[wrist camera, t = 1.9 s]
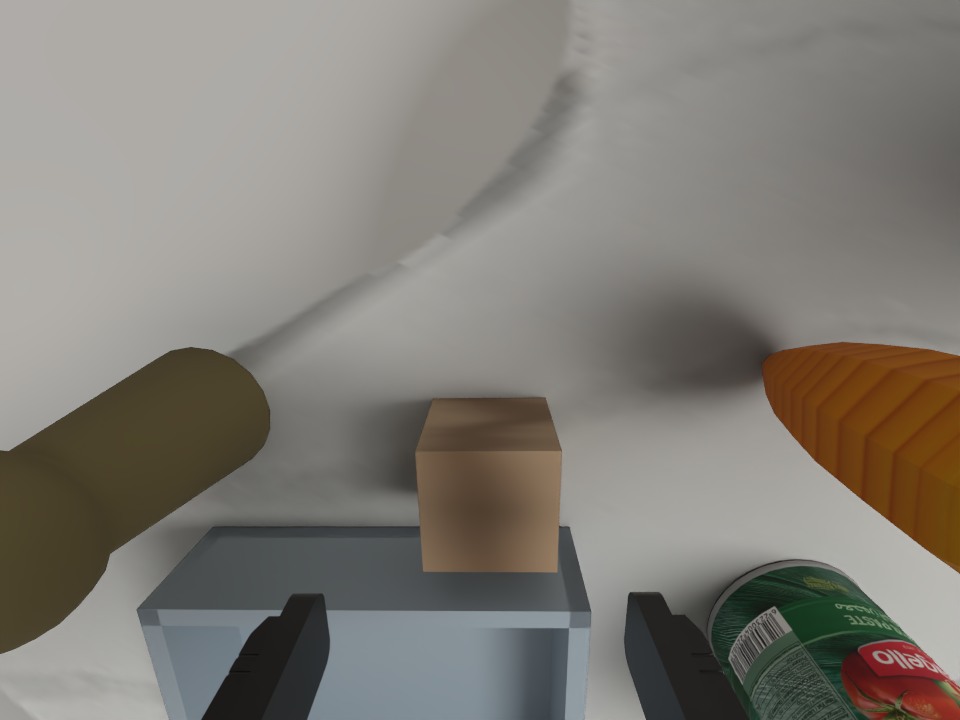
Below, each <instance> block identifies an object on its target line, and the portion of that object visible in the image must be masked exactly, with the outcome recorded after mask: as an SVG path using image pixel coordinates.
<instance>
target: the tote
mask: <svg viewBox="0 0 960 720" xmlns="http://www.w3.org/2000/svg"><path fill="white" fill-rule="evenodd" d="M294 593H322V594H323V595H324V598H325V605H326V612H327V620H328V627H329V634H330V651H329V657H328V662H327V665H326V668H325V671H324V674H323V677H322V680H321V682H320V685H319V688H318V691H317V694H316V696H315V699H314V702H313V705H312V707H311V710H310V713H309V716H308V719H307V720H584V718H585V702H586V686H587V671H588V655H589V639H590V624H591V609H590V605H589V601H588V597H587V593H586V589H585V586H584V582H583V578H582V574H581V570H580V566H579V562H578V558H577V554H576V551H575V547H574V543H573V539H572V535H571V531H570V527H559V538H558V565H557V572H423V563H422V547H421V532H420V527H212V528H211V530H210V531H209V532H208V533H207V534H206V535H205V536H204V537H203V538H202V539H201V540H200V541H199V543H198V544H197V545H196V546H195V547H194V548H193V549H192V550H191V551H190V552H189V553H188V554H187V555H186V557H185V558H184V559H183V560H182V561H181V562H180V563H179V564H178V565H177V566H176V567H175V568H174V570H173V571H172V572H171V573H170V574H169V575H168V576H167V577H166V578H165V579H164V580H163V581H162V582H161V584H160V585H159V586H158V587H157V588H156V589H155V590H154V591H153V592H152V593H151V594H150V595H149V596H148V598H147V599H146V600H145V601H144V602H143V603H142V604H141V605H140V606H139V607H138V608H137V613H138V616H139V619H140V623H141V626H142V630H143V633H144V636H145V640H146V643H147V646H148V650H149V653H150V657H151V660H152V663H153V667H154V670H155V674H156V677H157V680H158V684H159V687H160V690H161V694H162V697H163V701H164V704H165V707H166V711H167V714H168V718H169V720H201V719H202V717H203V715H204V714H205V712H206V710H207V708H208V707H209V705H210V703H211V701H212V700H213V698H214V696H215V695H216V693H217V691H218V689H219V688H220V686H221V684H222V682H223V681H224V679H225V677H226V676H228V674H229V670H230V668H231V667H232V665H233V663H234V661H235V660H236V658H238V657H239V653H240V651H241V649H242V648H243V646H244V644H245V642H246V641H247V639H248V637H249V635H250V634H251V633H252V632H253V631H254V630H255V629H256V628H257V627H258V626H259V625H260V624H261V623H262V622H263V621H264V620H265V619H266V618H267V617H268V616H280V614H281V612H282V611H283V609H284V607H285V605H286V603H287V601H288V599H289V598H290V596H291V595H292V594H294Z"/></svg>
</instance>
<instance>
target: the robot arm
mask: <svg viewBox="0 0 960 720" xmlns="http://www.w3.org/2000/svg"><path fill="white" fill-rule="evenodd" d="M624 644H625V653H626V659H627V663H628V667H629V670H630V673H631V676H632V679H633V682H634V685H635V688H636V691H637V694H638V697H639V700H640V703H641V706H642V709H643V712H644V715H645V718H646V720H750V719H749V718H748V716H747V714H746V712H745V710H744V708H743V707H742V705H741V703H740V701H739V699H738V697H737V695H736V694H735V692H734V690H733V688H732V686H731V684H730V683H729V681H728V679H727V677H726V675H724V674H723V670H722V668H721V666H720V664H719V662H718V660H717V659H716V657H714V654H713V651H712V649H711V648H710V646H709V644H708V642H707V640H706V638H705V636H704V635H703V633H702V632H701V631H700V630H699V629H698V628H697V627H696V626H695V625H694V624H693V623H692V622H691V621H690V620H689V619H688V618H687V617H686V616H685V615H672V614H671V612H670V610H669V608H668V606H667V604H666V602H665V600H664V598H663V596H662V594H661V593H659V592H630V593H629V596H628V604H627V615H626V626H625V636H624ZM329 651H330V634H329V627H328V620H327V612H326V605H325V598H324V595H323V594H322V593H294V594H292V595H291V596H290V598H289V599H288V601H287V603H286V605H285V607H284V609H283V611H282V612H281V614H280V616H268V617H267V618H266V619H265V620H264V621H263V622H262V623H261V624H260V625H259V626H258V627H257V628H256V629H255V630H254V631H253V632H252V633H251V634H250V635H249V637H248V639H247V641H246V642H245V644H244V646H243V648H242V649H241V651H240V653H239V657H238V658H236V660H235V661H234V663H233V665H232V667H231V668H230V670H229V674H228V676H226V677H225V679H224V681H223V682H222V684H221V686H220V688H219V689H218V691H217V693H216V695H215V696H214V698H213V700H212V701H211V703H210V705H209V707H208V708H207V710H206V712H205V714H204V715H203V717H202V719H201V720H307V719H308V716H309V713H310V710H311V707H312V705H313V702H314V699H315V696H316V694H317V691H318V688H319V685H320V682H321V680H322V677H323V674H324V671H325V668H326V665H327V662H328V657H329Z"/></svg>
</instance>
